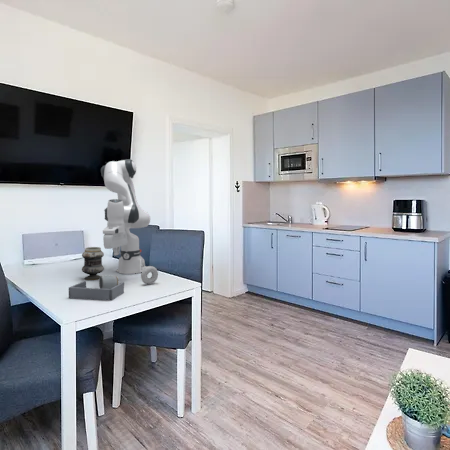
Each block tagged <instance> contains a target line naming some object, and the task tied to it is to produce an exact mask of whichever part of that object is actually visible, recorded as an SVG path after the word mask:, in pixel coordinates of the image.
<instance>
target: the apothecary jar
mask: <svg viewBox="0 0 450 450" xmlns="http://www.w3.org/2000/svg"><path fill="white" fill-rule="evenodd" d="M104 255H105V253H104V252H103V251H102V248H101V247H100V246H99V247H98V246H90V247H89V246H88V247H85V248H84V251H83V252H82V253H81V257H82V258H83V260H84V263H83V266H82V268H81V271H82V272H83V273H84V274H86V275H87V276H85V277H84V278H83V279H84V281H99V279H100V276H101V275H99V274H101V273H103V272H104V270H105V266H104V265H103V262H102V260H103V259H102V258H103V257H104Z"/></svg>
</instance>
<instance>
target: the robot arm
mask: <svg viewBox="0 0 450 450" xmlns="http://www.w3.org/2000/svg"><path fill="white" fill-rule="evenodd" d="M100 173H101V177H102V178H103V181H104V186H105V188H106V189H107V190H108V191H110V192H112V193H113V194H114V193H115V194H117V198H113V199H109V200H108V201H107V206H106V208H104V210H103V211H104V220H105V221H106V222H107V224H106V227H105V228H103V230H102V235H103V236H102V237H103V241H102V242H103V247H104V249H106V250H107V249H109V250H111V249H112V252H113V256H114V257H115V256H119V255H120V257H119V258H118V267H117V269H116V270H115V271H116V272H117V273H119V274H121V275H133V274H135V273H136V274H141V272H142V271H143V270H144V268H146V267H148V266H149V265H148V266H146V263H145V259H144V257H143V256H141V253H142V249H140V238H139V236H138V235H136V234H134V233H132V232H131V231H130V229H141V228H142V229H143V228H146V227H148V226H149V225H150V223H151V216H150V214H149V213H148V211H145V210H144V209H143V208H142V207H141V206H140V205H139V203H138V200H137V196H136V191H135V186H134V183H133V180H132V179H134V176H135V175H136V174H137V166H136V163H135V161H133V160H132V159H131V158H129V159H127V158H125V159H121V160H118V161H117V160H116V161H115V160H112V161H108V162H107V163H106V164H105V165H102V167H101V168H100ZM136 274H135V275H136Z"/></svg>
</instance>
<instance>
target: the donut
mask: <svg viewBox="0 0 450 450" xmlns="http://www.w3.org/2000/svg"><path fill="white" fill-rule="evenodd" d="M149 273H151V276H150V277H148V275H149ZM158 276H159V272H158V269H157V268H156V267H155V266H153V265H148V267H146V268H144V270H143V271H142V273H140V278H141V281H142V282H143V284H145V285H153V284H154V283H155V282H156V281H157V279H158Z"/></svg>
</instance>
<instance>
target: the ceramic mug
mask: <svg viewBox="0 0 450 450" xmlns="http://www.w3.org/2000/svg"><path fill="white" fill-rule="evenodd" d="M99 276H100V279H98V287H99V289H111V288H113V287H115V286H117V285H119V277H118V275H113V274H111V275H109V274H107V275H99Z"/></svg>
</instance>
